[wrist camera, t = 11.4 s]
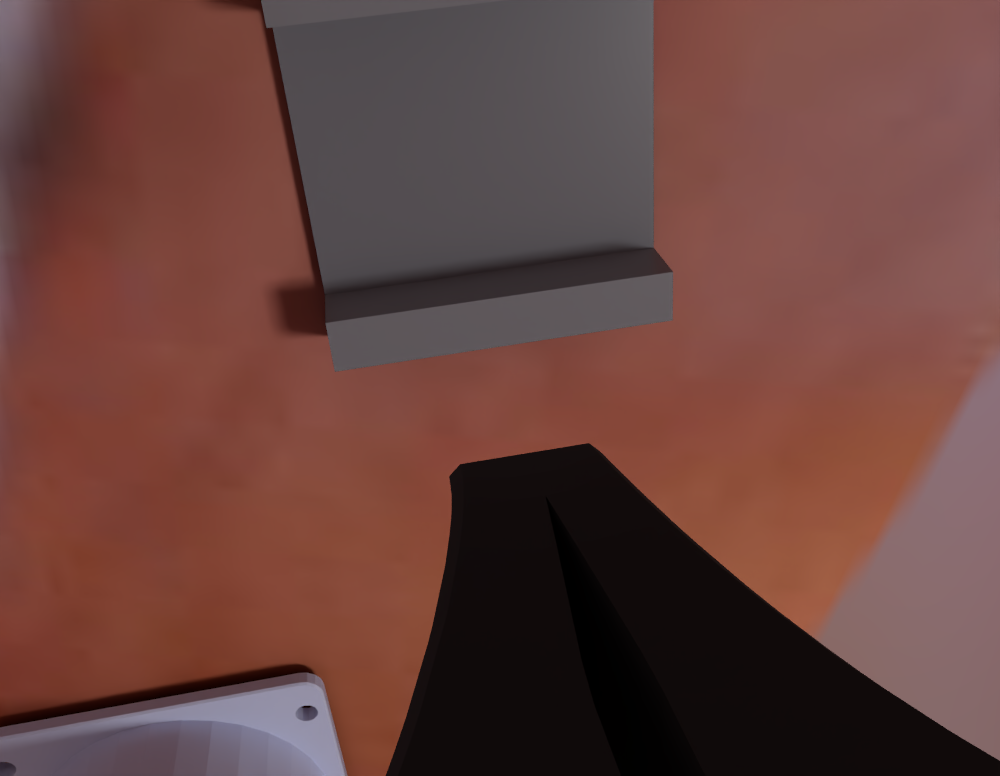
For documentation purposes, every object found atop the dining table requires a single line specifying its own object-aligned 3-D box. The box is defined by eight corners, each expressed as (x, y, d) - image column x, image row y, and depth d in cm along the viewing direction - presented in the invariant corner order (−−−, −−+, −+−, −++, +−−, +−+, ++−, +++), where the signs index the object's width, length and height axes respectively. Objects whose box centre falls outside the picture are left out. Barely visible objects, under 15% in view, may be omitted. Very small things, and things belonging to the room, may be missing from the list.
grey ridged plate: (650, 290, 19) (672, 320, 18) (333, 337, 19) (334, 371, 17) (649, -96, 16) (676, -91, 14) (257, -54, 15) (251, -44, 14)
